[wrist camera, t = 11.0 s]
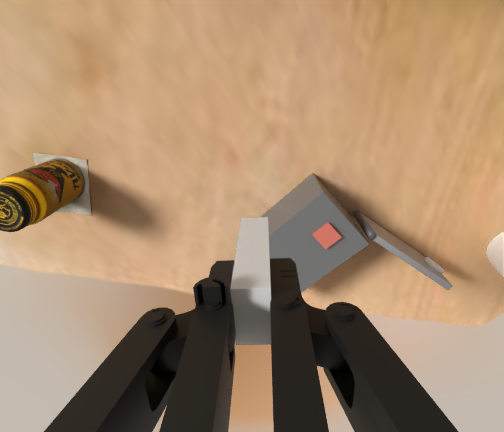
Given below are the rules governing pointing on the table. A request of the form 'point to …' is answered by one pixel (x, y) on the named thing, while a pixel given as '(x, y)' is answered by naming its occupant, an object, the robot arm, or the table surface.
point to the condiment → (44, 191)
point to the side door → (402, 250)
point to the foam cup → (497, 253)
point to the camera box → (312, 231)
